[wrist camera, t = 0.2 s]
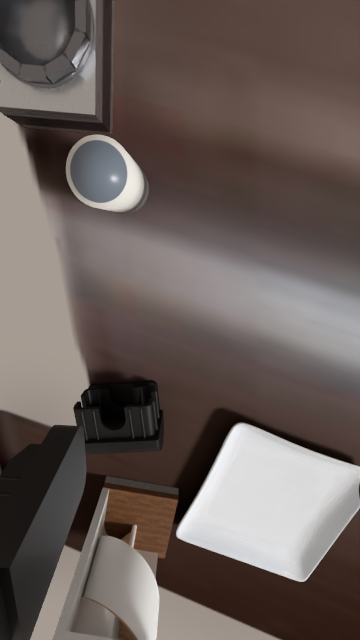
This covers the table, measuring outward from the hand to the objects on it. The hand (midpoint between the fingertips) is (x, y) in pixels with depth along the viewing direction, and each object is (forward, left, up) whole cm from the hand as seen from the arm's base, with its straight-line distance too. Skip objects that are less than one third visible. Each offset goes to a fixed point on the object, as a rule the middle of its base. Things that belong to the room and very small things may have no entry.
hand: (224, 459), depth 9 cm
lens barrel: (-10, -9, -29) cm, 32 cm away
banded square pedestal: (-21, -15, -29) cm, 38 cm away
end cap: (+17, -8, -29) cm, 35 cm away
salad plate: (+30, +13, -29) cm, 44 cm away
